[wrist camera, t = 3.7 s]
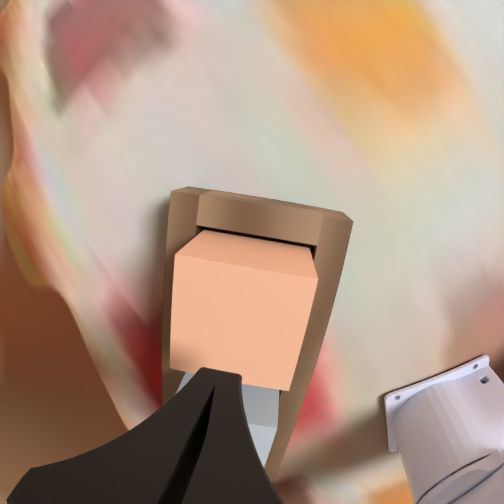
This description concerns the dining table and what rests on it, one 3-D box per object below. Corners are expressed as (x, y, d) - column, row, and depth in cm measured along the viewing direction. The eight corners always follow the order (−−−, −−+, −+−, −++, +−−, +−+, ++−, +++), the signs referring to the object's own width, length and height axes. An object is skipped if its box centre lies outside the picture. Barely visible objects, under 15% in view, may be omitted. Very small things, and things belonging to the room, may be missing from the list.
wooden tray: (342, 212, 18) (353, 221, 15) (267, 475, 25) (264, 499, 22) (188, 186, 18) (170, 191, 15) (175, 457, 25) (166, 480, 22)
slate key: (280, 375, 18) (277, 427, 14) (264, 431, 20) (259, 480, 15) (192, 358, 18) (169, 406, 14) (188, 416, 20) (171, 463, 15)
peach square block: (309, 247, 16) (318, 279, 11) (288, 339, 17) (288, 391, 13) (203, 229, 16) (175, 254, 12) (194, 322, 18) (169, 368, 13)
